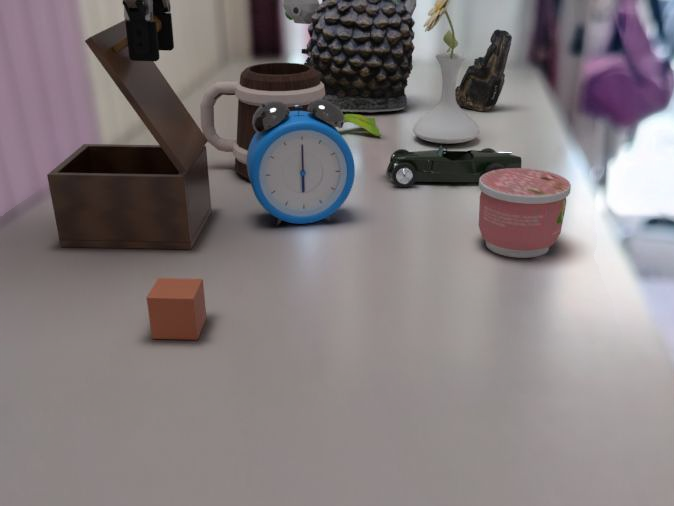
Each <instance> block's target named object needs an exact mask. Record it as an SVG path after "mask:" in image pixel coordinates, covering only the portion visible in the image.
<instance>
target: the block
mask: <svg viewBox="0 0 674 506" xmlns="http://www.w3.org/2000/svg"><path fill="white" fill-rule="evenodd" d="M205 297H206V296H205V288H204V279H203V278H177V277H175V278H173V277H158V278H157V279H156V281H155V283H154V284H153V286H152V288H151V289H150V291H149V293H148V295H147V296H146V304H147V311H148V319H149V327H150V335H151V339H153V340H186V341H187V340H189V341H190V340H191V341H198V340H199V337H200V335H201V332H202V330H203V329H204V325H205V323H206V321H207V309H206V298H205Z"/></svg>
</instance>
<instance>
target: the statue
mask: <svg viewBox="0 0 674 506" xmlns="http://www.w3.org/2000/svg"><path fill="white" fill-rule="evenodd" d="M489 40H490V41H489V42H490V45H489V46H488V48H487V49H486V53H485V55H484V56H478V57H476V58H474V62H473V64H472V65H469V66H468V67H467V69H466V71H465V73H464V75H463V76H462V79H461V81H460V84H459V85H458V86H456V88H455V97H456V102H457V104H458V105H459V107H463V108H467V109H468V110H469V109H470V110H473V111H478V112H487V111H489V110H491V109H493V108H494V107H495V106H496V104H497V103H498V100H499V97H500V96H501V93H502V91H503V87H504V85H505V81H506V80H505V77H506V74H505V70H506V65H507V62H508V58H509V53H510V51H511V46H512V41H513V37H512V35H511V33H509V32H508V31H507V30H504V29H503V30H501V29H498V28H497V29H495V30H494V31H493V32H492V34H491V37H490V39H489Z"/></svg>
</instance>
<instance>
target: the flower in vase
mask: <svg viewBox="0 0 674 506" xmlns="http://www.w3.org/2000/svg"><path fill="white" fill-rule="evenodd" d="M450 3H451V0H435V3H434V5H433V7H432V8H430V10H429V11H428V12H427V16H429V18H428V19H426V21H425V22H424V23H423V28H425V29H424V32H430V31H431V30H433V29H434V28H435V26H437V24H438V23H439V22H440V20H441V18H442V17H443V15H444V14H445V16H446V19H447V21H448V24H449V27H450V29H448V30H447V32H446V33H445V34H444V36H443V38H442V40H443V42H444V43H445V44H446V45H447V46H448V48H447V50H446V53H439V54H436V55H435V58H436V60H437V61H438V64H439V67H440V70H441V81H442V83H441V96H440V99H439V101H438V103H437V104H436V105H435V106H434V107H433V108H431V109H430V110H429V111H428V112H426V113H425V114H423V116H421V117H420V118H419V119H418V120H417V121H416V122H415V124H413V125H414V126H413V128H412V132H413V134H414V135H415V136H416V137H417V138H419V139H421V140H424V141H427V142H430V143H436V144H447V145H448V144H449V145H450V144H462V143H466V142H470V141H472V140H475V139H476V138H477V137H478V135H480V133H481V130H480V126H479V125H478V124H477V122H476V121H475V120H474V119H473V118H472V117H471V116H470V115H469V114H468V113H467V112H466V111H464V110H463V109H462V108H461V106H460V105H458V104H457V102H456V97H455V89H456V88H457V80H458V75H459V71H460V69H461V66H462V65H463V63H464V62H465V60H466V59H467V56H466V55H465V54H461V53H454V50H455V49H456V48H457V47H458V46H459V42H458V40H457V39H456V36H455V29H454V27H453V23H452V20H451V17H450V15H449V13H448V11H447V9H448V6H449V4H450Z"/></svg>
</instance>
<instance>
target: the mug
mask: <svg viewBox="0 0 674 506" xmlns="http://www.w3.org/2000/svg"><path fill="white" fill-rule="evenodd" d="M239 76H240V77H239V81H230V80H229V81H217V82H214V83H213V84H211V86H209V87H208V88H207V89H206V90H205V92H204V94H203V96H202V99H201V101H200V103H199V106H200V108H199V109H200V127H201V128H200V129H201V131H202V133H203V134H204V136H205V137H206V138H207V140H208V141H207V143H209V144H210V145H211V146H212V147H214V148H215V149H216V150H217V151H219V152H224V153H232V155H233V156H234V157H235V158H234V169H235V171H236V172H237V173H238V175H240V176H241V177H242V178H244V179H246V180H248V181H250V179H249V176H248V171H247V153H248V148H249V145H250V143H251V140H252V138H253V137H254V135H255V133H256V131H255V130H254V127H253V124H252V120H253V116H254V114H255V112H256V110H257V109H258V108H259V107H260V106H262V103H264V104H265V103H267V102H271V101H278V102H282V103H284V104H285V105H286V106H287V107H288V108H289V110H290V111H298V108H294V105H303V108H299V111H306V112H309V111H308V110H307V108H308V106H309V104H310V103H311V102H313V101H315V100H318V99H323V97H324V96H325V88H324V84H323V83H322V82H321V81H320V78H319V72H318V71H316V70H315V69H314V68H313V67H311V66H308V65H305V64H304V63H297V62H267V63H266V62H265V63H258V64H253V65H249V66H248V67H245V68H244V69H243V71H241V72H240V75H239ZM222 96H235V97H236V98H237V99H238V100H237V123H236V124H237V125H236V139H227V138H223V137H220V135H218V133H217V130H216V127H215V108H214V107H215V106H216V103H217V100H219V98H221V97H222Z"/></svg>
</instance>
